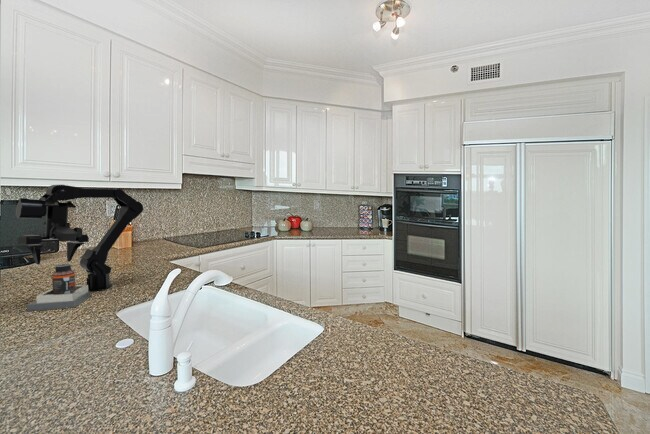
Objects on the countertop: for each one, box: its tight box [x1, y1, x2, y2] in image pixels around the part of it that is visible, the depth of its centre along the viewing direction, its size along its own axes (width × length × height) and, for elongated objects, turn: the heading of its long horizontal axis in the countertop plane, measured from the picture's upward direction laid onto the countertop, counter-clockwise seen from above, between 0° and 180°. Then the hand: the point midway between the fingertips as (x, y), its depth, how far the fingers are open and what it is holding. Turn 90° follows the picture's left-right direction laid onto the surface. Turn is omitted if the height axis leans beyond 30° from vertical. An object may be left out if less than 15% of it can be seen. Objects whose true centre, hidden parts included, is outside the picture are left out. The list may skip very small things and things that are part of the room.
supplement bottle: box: [51, 263, 77, 294], centre depth 104 cm, size 6×6×11 cm
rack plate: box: [26, 284, 92, 312], centre depth 104 cm, size 13×11×4 cm
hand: (54, 262), depth 108 cm, fingers open, 9 cm apart
